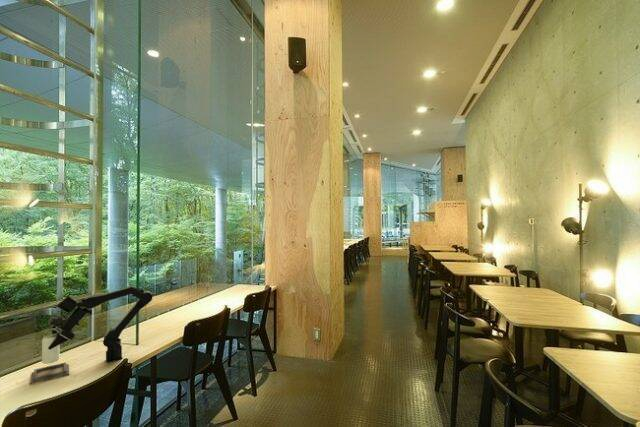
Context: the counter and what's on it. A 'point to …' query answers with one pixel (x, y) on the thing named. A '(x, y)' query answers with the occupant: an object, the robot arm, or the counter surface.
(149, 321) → the counter surface
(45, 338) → the can
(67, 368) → the holder
